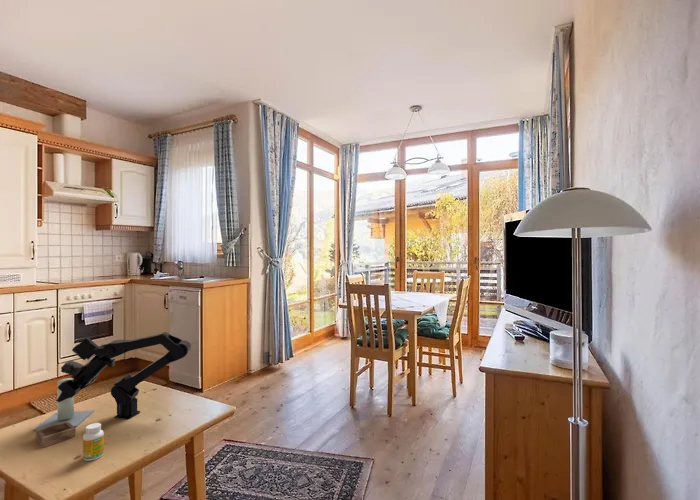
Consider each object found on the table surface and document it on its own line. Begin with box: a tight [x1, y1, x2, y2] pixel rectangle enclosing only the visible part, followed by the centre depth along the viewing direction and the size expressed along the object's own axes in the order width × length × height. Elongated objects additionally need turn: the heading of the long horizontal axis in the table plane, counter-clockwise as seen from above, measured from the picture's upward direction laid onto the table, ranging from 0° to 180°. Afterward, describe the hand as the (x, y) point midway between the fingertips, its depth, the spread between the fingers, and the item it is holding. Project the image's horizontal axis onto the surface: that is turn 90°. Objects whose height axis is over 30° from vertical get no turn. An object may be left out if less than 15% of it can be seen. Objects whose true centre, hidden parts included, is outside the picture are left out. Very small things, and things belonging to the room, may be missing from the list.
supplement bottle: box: [82, 422, 105, 462], centre depth 118 cm, size 5×5×10 cm
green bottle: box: [56, 377, 75, 420], centre depth 143 cm, size 5×5×14 cm
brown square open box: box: [35, 421, 76, 448], centre depth 130 cm, size 9×9×3 cm
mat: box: [32, 409, 95, 432], centre depth 143 cm, size 14×14×1 cm
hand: (61, 398), depth 143 cm, fingers closed on green bottle, 5 cm apart
